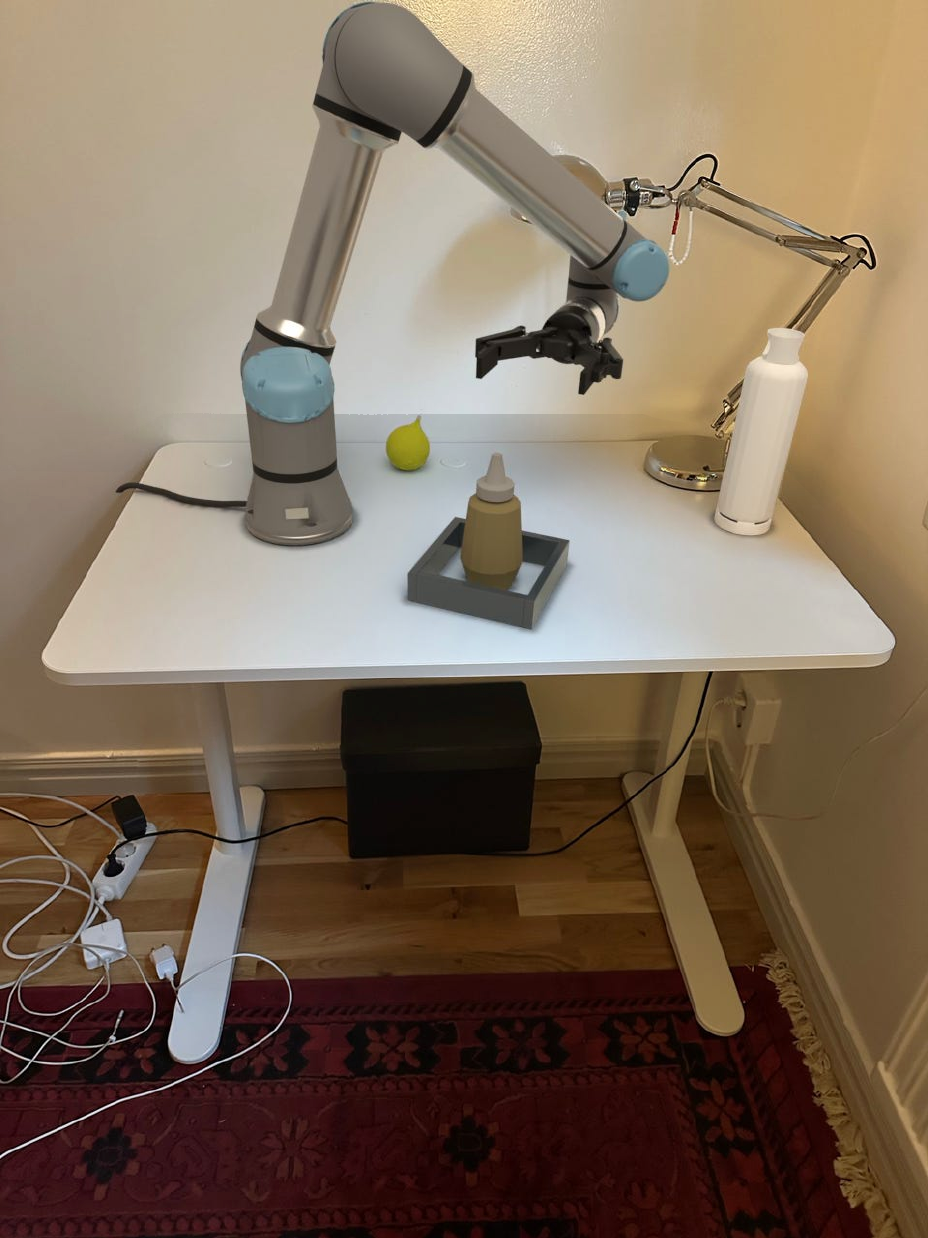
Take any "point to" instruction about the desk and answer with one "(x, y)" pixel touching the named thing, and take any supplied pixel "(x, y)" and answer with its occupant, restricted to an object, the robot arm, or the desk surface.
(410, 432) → the yellow teardrop-shaped fruit
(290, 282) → the robot arm
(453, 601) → the grey open square frame
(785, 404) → the bottle
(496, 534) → the squeeze bottle
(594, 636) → the desk surface
